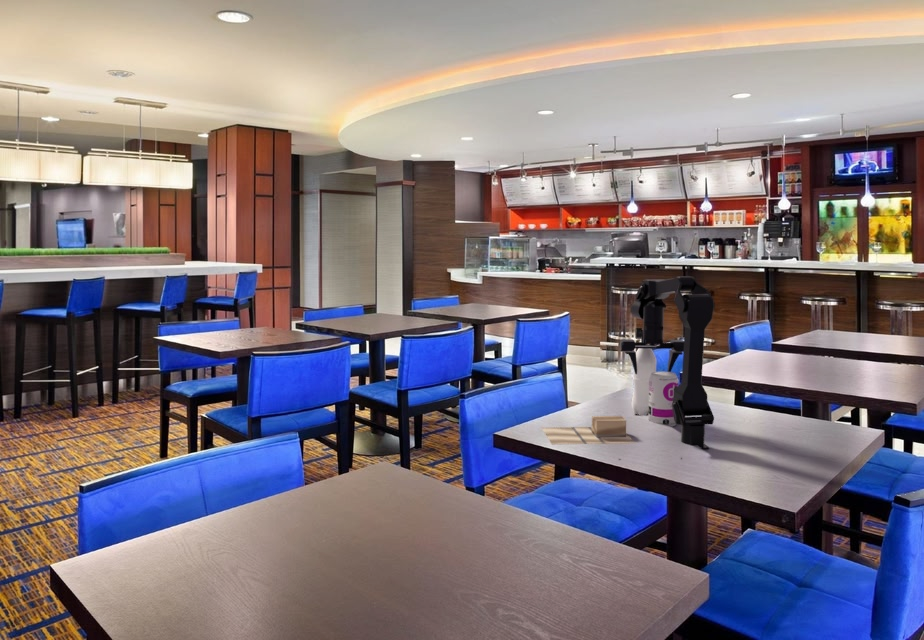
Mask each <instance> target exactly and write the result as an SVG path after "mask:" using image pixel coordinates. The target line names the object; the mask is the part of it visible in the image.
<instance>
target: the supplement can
mask: <svg viewBox="0 0 924 640" xmlns="http://www.w3.org/2000/svg"><path fill="white" fill-rule="evenodd" d="M679 385H680V380H679V377H678V376H677V373H675V372H672V371H671V372H667V371H662V370H660V371H656V372H652V373H651V376H650V378H649V415H648V421H649V422H651V423H654V424H659V425H668V426H670V427H675V426H676V425H677V424H675V421H674V417H673V409H672V402H673V396H674V387H675V386H679Z"/></svg>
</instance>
